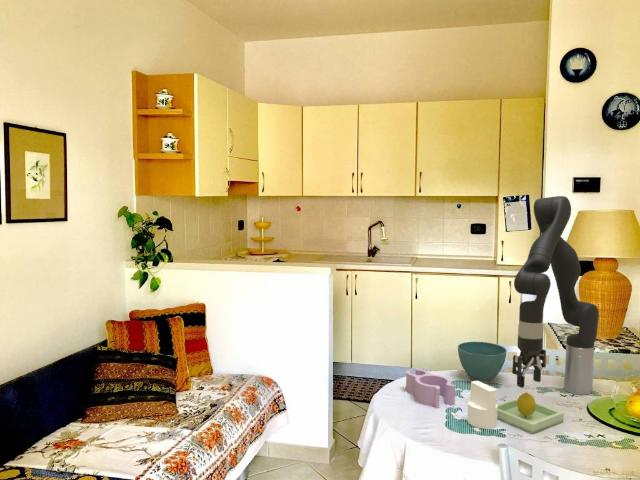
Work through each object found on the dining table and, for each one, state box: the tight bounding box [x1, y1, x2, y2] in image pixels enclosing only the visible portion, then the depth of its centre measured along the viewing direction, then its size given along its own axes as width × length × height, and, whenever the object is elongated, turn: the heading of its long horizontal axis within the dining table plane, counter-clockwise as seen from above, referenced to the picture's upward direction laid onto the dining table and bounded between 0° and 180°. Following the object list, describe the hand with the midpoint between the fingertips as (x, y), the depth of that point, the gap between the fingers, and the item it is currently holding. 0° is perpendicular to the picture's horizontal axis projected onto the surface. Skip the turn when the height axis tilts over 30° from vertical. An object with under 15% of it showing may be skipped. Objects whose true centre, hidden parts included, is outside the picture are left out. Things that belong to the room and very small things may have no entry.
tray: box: [496, 396, 564, 435], centre depth 175 cm, size 16×16×3 cm
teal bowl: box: [457, 341, 508, 383], centre depth 212 cm, size 18×18×12 cm
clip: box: [405, 368, 456, 409], centre depth 193 cm, size 20×12×7 cm, turn 26°
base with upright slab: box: [467, 380, 498, 430], centre depth 172 cm, size 9×9×12 cm
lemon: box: [517, 392, 536, 417], centre depth 174 cm, size 6×6×8 cm
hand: (528, 384), depth 174 cm, fingers open, 8 cm apart
